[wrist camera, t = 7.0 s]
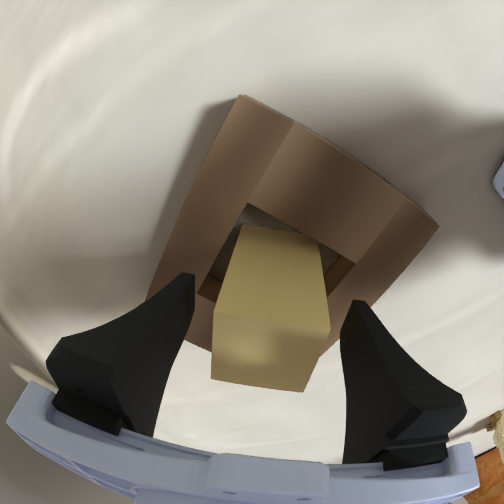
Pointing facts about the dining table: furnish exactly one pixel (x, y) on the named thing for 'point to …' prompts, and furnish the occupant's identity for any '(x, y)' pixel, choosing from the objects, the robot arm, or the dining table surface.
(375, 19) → the dining table surface
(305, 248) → the sand colored cuboid
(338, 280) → the brown square frame
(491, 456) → the bread
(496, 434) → the cat figure
